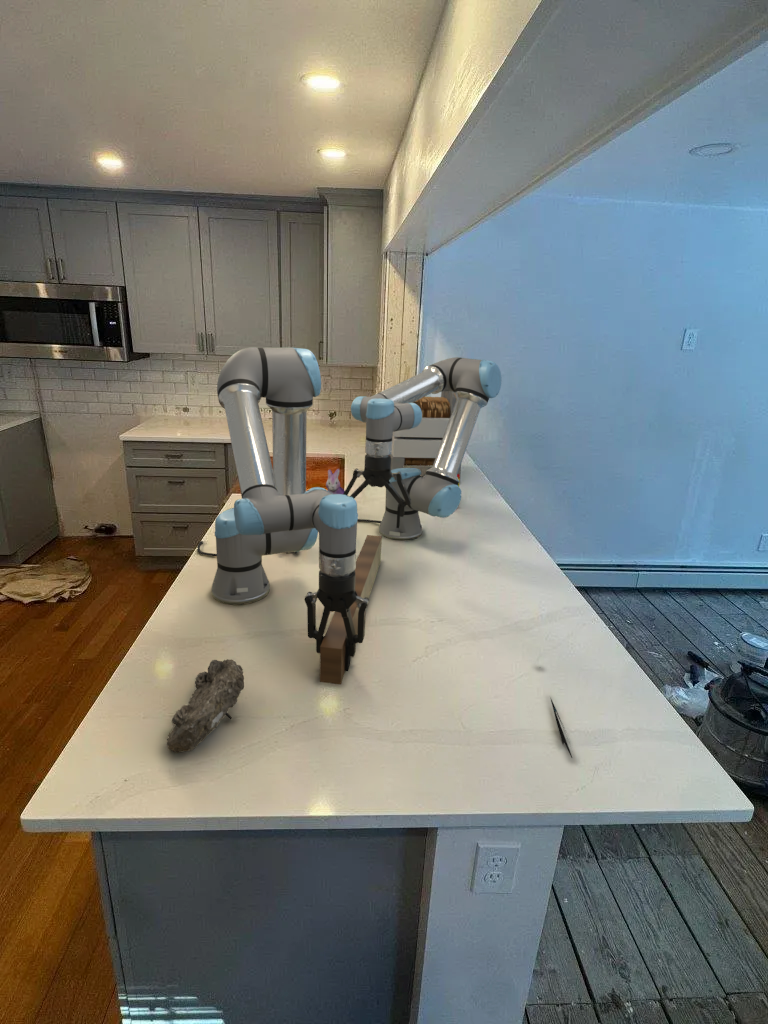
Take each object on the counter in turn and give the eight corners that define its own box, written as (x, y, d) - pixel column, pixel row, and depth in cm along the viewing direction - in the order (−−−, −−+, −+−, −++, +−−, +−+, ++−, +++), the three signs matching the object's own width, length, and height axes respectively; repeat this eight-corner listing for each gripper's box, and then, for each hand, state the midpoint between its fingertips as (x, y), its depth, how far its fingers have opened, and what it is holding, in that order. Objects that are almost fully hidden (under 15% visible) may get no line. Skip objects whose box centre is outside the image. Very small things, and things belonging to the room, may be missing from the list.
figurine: (329, 511, 218) (329, 474, 213) (319, 503, 226) (319, 467, 221) (351, 508, 222) (352, 471, 217) (341, 500, 230) (342, 465, 225)
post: (366, 560, 178) (367, 534, 175) (380, 561, 177) (381, 536, 174) (319, 682, 120) (320, 646, 117) (341, 684, 119) (341, 649, 116)
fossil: (192, 660, 117) (244, 628, 112) (224, 691, 120) (276, 661, 115) (142, 746, 98) (202, 712, 93) (182, 779, 101) (242, 748, 96)
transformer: (382, 463, 289) (386, 382, 275) (445, 464, 293) (451, 384, 279) (390, 482, 257) (394, 392, 243) (460, 483, 261) (468, 394, 247)
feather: (540, 672, 128) (545, 666, 127) (572, 762, 101) (579, 755, 101) (533, 668, 128) (539, 662, 127) (564, 758, 101) (571, 750, 100)
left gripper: (290, 573, 114) (291, 671, 122) (377, 582, 112) (373, 681, 120) (300, 558, 121) (300, 652, 129) (382, 566, 119) (377, 660, 127)
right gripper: (332, 454, 158) (331, 525, 165) (421, 461, 156) (416, 532, 163) (337, 448, 165) (336, 516, 172) (422, 454, 163) (417, 523, 170)
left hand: (335, 666), depth 124 cm, fingers closed on post, 5 cm apart
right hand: (375, 524), depth 168 cm, fingers open, 13 cm apart
